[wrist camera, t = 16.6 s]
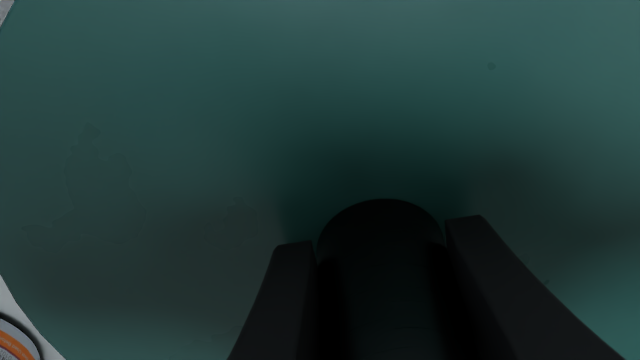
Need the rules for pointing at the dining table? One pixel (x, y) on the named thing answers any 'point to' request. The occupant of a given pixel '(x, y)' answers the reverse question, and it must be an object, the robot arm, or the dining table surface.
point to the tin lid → (313, 165)
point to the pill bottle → (15, 344)
